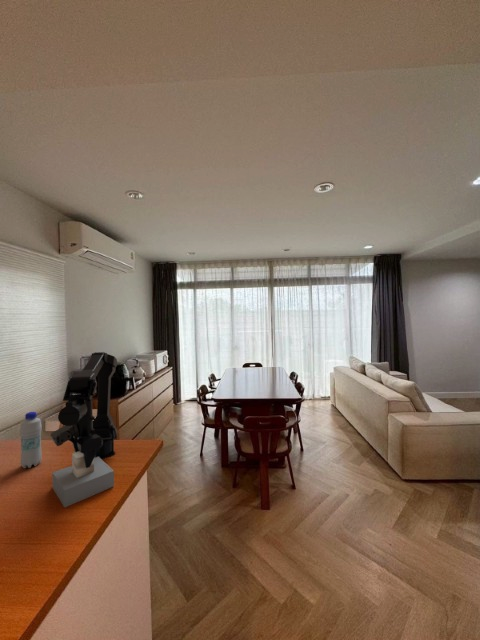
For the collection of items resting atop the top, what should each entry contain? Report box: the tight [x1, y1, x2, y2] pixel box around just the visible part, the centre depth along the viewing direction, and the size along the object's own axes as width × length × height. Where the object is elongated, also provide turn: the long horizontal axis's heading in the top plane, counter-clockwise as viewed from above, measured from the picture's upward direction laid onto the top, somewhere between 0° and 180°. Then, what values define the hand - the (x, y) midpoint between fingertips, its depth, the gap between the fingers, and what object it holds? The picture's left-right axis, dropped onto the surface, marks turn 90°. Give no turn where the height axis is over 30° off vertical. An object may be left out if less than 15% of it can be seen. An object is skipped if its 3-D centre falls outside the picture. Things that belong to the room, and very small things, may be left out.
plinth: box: [52, 457, 115, 508], centre depth 89 cm, size 14×14×5 cm
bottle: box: [19, 411, 43, 469], centre depth 103 cm, size 7×7×20 cm
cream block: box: [71, 451, 94, 478], centre depth 89 cm, size 5×5×6 cm
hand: (83, 462), depth 89 cm, fingers open, 9 cm apart
